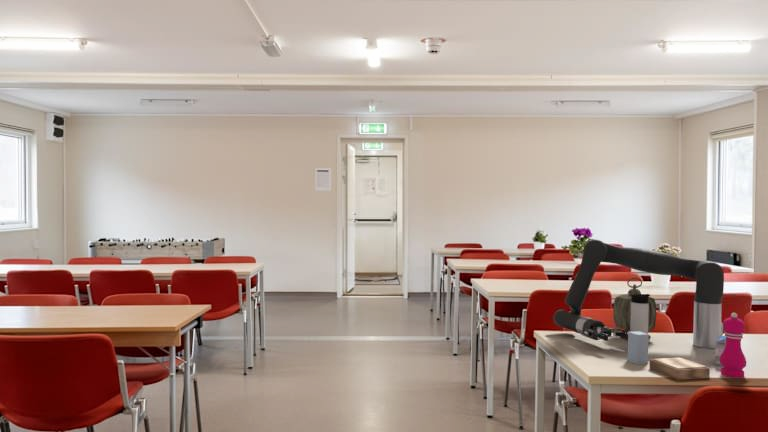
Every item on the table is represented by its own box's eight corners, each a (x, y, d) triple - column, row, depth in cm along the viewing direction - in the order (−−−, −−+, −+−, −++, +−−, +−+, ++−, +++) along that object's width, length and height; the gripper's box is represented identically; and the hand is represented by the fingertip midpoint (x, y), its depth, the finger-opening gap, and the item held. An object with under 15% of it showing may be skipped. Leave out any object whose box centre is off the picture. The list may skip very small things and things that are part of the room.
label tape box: (718, 360, 193) (719, 325, 193) (732, 362, 191) (733, 327, 191) (714, 365, 186) (715, 329, 186) (728, 367, 184) (729, 331, 184)
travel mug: (650, 347, 209) (651, 295, 209) (632, 346, 211) (633, 294, 210) (646, 343, 215) (647, 293, 215) (628, 342, 217) (629, 292, 216)
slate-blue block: (638, 359, 191) (639, 331, 191) (647, 363, 186) (648, 334, 186) (627, 360, 190) (628, 331, 190) (636, 364, 185) (637, 334, 185)
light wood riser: (679, 367, 183) (680, 356, 183) (709, 377, 171) (709, 366, 171) (649, 368, 180) (649, 358, 180) (677, 379, 168) (677, 368, 168)
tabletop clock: (624, 341, 219) (626, 279, 219) (610, 336, 228) (611, 276, 228) (655, 340, 222) (657, 278, 222) (640, 335, 231) (641, 276, 231)
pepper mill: (746, 380, 170) (748, 315, 170) (719, 375, 174) (720, 313, 173) (745, 374, 176) (747, 312, 176) (719, 370, 180) (721, 309, 180)
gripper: (574, 319, 212) (601, 327, 196) (606, 318, 216) (634, 326, 200) (574, 338, 212) (600, 348, 196) (605, 337, 216) (634, 347, 200)
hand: (617, 337), depth 198 cm, fingers open, 8 cm apart
